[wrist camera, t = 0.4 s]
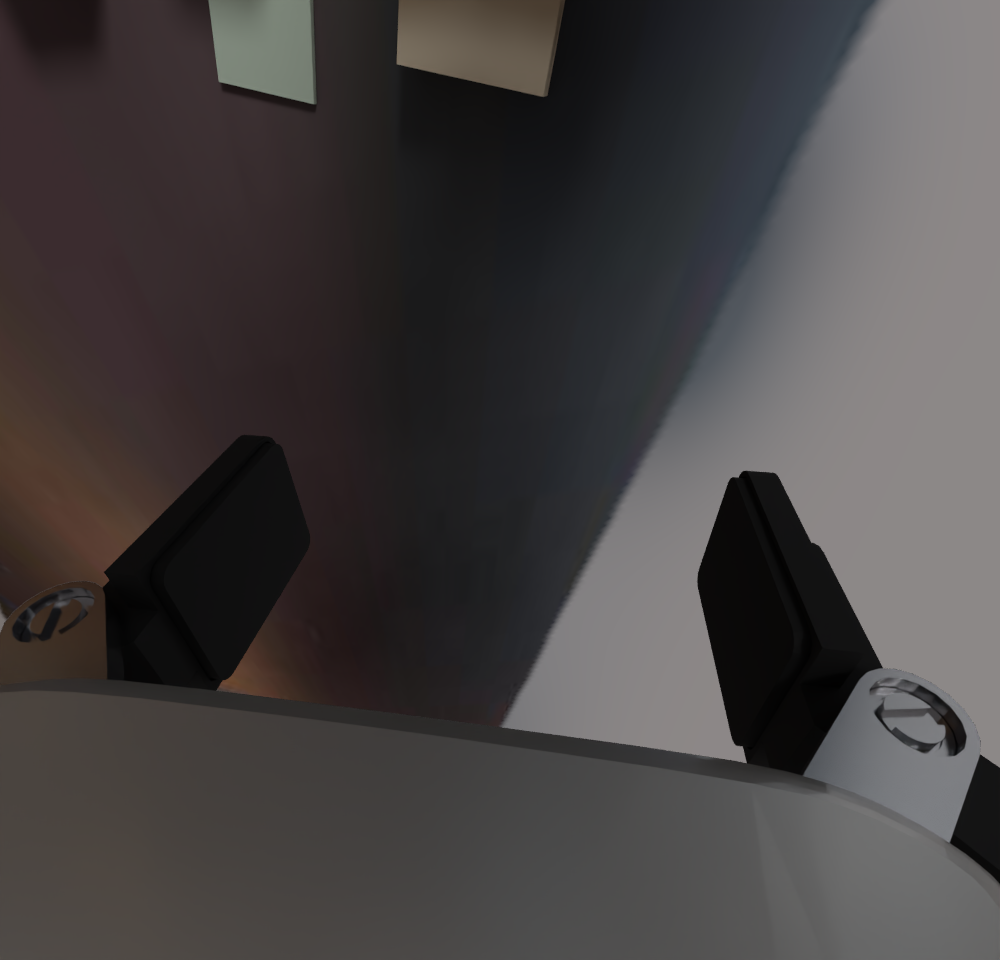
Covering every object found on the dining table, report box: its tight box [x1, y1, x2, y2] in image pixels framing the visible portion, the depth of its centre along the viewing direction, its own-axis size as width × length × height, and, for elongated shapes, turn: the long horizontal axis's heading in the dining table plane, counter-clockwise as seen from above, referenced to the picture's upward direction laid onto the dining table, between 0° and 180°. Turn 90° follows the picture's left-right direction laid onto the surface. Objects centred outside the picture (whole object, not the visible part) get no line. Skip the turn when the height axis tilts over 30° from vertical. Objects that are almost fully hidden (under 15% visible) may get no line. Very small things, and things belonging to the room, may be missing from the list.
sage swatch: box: [209, 0, 317, 104], centre depth 30 cm, size 6×6×1 cm
